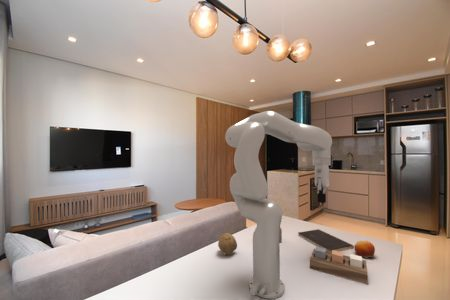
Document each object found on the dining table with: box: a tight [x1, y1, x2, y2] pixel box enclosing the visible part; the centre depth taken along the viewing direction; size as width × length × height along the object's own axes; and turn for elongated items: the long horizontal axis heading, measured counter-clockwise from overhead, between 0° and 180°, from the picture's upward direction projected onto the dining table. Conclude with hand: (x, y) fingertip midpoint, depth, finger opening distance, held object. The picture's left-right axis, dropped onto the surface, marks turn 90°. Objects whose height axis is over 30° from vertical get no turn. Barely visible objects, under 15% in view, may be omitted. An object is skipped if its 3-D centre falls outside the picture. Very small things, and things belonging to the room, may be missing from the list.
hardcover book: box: [297, 228, 355, 252], centre depth 111 cm, size 16×23×2 cm
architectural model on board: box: [279, 226, 283, 244], centre depth 109 cm, size 11×3×10 cm, turn 111°
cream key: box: [349, 253, 363, 269], centre depth 81 cm, size 4×4×3 cm
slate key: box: [314, 246, 326, 259], centre depth 88 cm, size 4×4×3 cm
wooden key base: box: [309, 248, 369, 285], centre depth 84 cm, size 12×20×4 cm, turn 57°
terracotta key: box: [332, 250, 344, 264], centre depth 85 cm, size 4×4×3 cm
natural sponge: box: [217, 232, 238, 256], centre depth 97 cm, size 9×9×10 cm
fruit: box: [353, 240, 376, 259], centre depth 95 cm, size 8×8×8 cm
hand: (321, 202), depth 92 cm, fingers closed
